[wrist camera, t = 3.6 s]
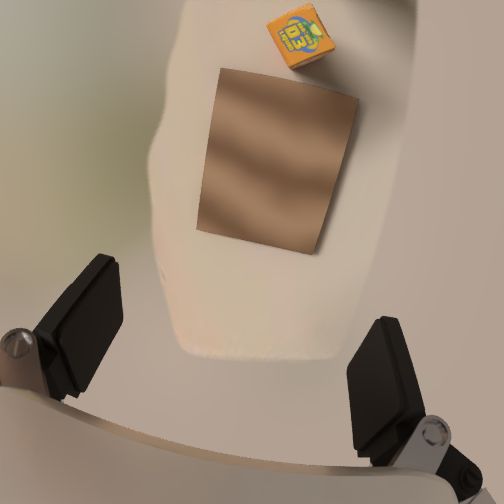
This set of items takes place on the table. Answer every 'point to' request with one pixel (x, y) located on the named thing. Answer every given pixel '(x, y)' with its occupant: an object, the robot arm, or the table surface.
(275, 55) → the table surface
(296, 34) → the supplement box
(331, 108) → the walnut board
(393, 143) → the table surface
